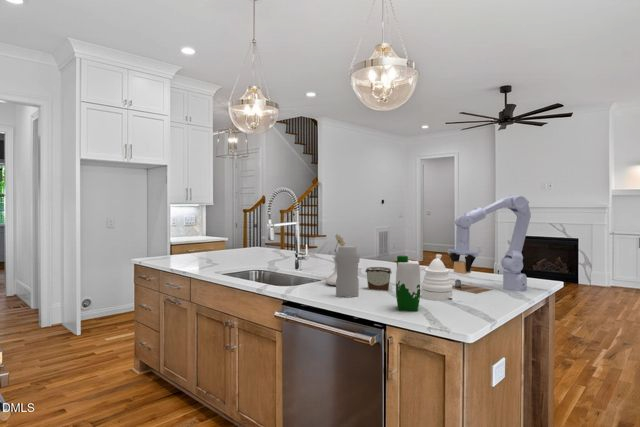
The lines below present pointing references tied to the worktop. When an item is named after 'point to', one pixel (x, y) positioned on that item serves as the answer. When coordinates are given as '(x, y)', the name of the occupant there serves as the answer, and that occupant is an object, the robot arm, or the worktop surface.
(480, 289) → the board
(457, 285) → the small grey jar
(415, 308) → the milk carton
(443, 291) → the honey pot
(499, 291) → the worktop surface
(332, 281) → the flower in vase
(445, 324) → the worktop surface
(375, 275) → the food container
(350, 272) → the tall pale column
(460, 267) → the tan shipping carton
